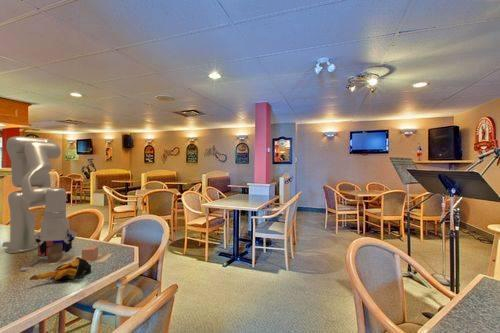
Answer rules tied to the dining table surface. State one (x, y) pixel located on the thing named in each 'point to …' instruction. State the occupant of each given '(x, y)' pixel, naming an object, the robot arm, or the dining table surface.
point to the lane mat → (33, 264)
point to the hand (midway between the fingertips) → (55, 252)
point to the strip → (57, 256)
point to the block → (90, 253)
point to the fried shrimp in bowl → (67, 271)
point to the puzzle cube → (50, 243)
